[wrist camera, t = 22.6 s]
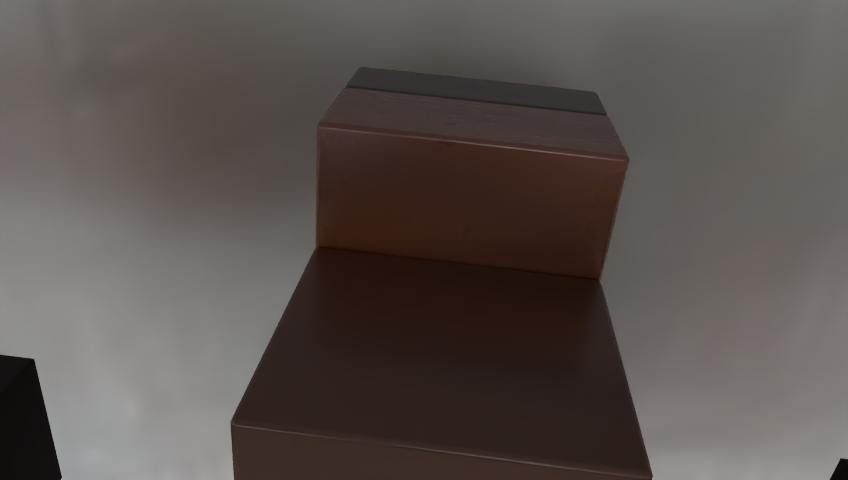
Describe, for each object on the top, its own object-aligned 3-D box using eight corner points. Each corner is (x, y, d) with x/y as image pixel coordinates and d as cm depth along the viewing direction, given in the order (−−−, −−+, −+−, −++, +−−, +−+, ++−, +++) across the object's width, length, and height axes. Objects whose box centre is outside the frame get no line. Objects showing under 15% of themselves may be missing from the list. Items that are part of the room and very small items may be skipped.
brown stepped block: (358, 65, 13) (216, 256, 6) (597, 90, 13) (711, 314, 6) (340, 509, 19) (255, 858, 12) (507, 531, 18) (514, 897, 12)
